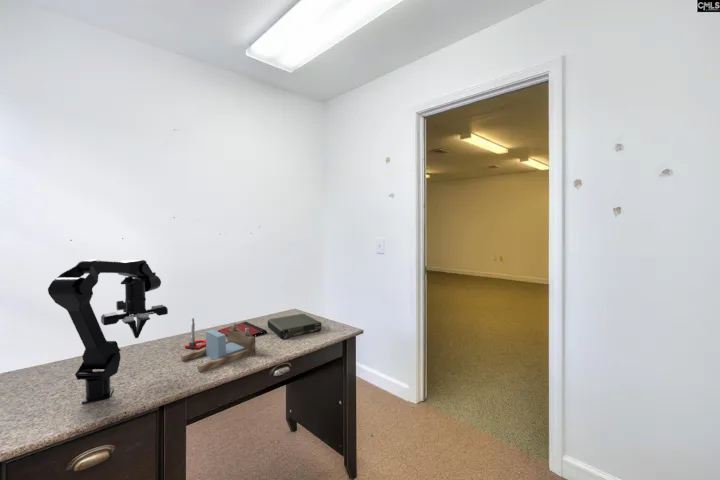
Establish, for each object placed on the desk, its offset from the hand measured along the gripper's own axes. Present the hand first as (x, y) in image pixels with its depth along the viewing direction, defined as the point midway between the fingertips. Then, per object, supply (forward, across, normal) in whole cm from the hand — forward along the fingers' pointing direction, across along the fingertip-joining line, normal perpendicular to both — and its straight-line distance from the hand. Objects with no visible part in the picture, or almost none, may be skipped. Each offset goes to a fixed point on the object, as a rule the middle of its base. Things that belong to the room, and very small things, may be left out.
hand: (136, 337), depth 110 cm
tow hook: (+12, -24, -10) cm, 29 cm away
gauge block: (+12, -28, +10) cm, 32 cm away
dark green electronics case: (+13, -65, +4) cm, 67 cm away
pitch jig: (+12, -25, +10) cm, 29 cm away
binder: (+13, -45, -11) cm, 48 cm away
